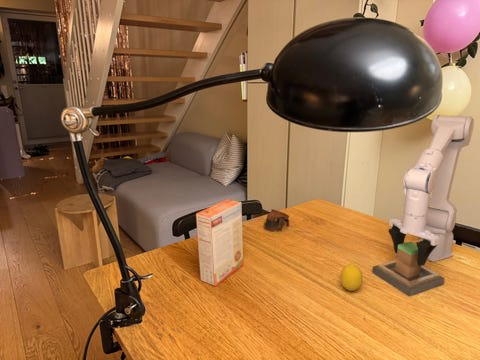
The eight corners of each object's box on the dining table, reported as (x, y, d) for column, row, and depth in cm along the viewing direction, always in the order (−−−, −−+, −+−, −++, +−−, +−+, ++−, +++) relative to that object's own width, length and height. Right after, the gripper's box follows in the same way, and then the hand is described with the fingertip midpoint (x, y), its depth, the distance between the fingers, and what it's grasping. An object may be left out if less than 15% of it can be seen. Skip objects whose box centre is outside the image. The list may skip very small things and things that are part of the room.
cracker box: (228, 260, 109) (226, 198, 104) (244, 266, 106) (243, 201, 100) (198, 280, 98) (194, 212, 93) (215, 287, 95) (212, 216, 89)
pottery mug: (258, 226, 136) (266, 206, 137) (279, 234, 138) (286, 215, 139) (269, 230, 125) (277, 209, 125) (291, 239, 127) (299, 218, 128)
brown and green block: (406, 266, 100) (409, 241, 98) (419, 274, 96) (423, 248, 94) (395, 270, 98) (398, 244, 96) (408, 277, 94) (411, 251, 92)
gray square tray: (404, 263, 106) (405, 254, 105) (443, 284, 95) (445, 275, 94) (372, 272, 101) (373, 264, 100) (409, 296, 90) (410, 287, 89)
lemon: (362, 298, 89) (365, 270, 87) (340, 295, 90) (342, 268, 88) (359, 286, 95) (362, 259, 92) (338, 284, 96) (340, 258, 93)
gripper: (383, 206, 97) (378, 250, 101) (428, 225, 84) (421, 274, 88) (401, 202, 100) (396, 245, 104) (448, 220, 87) (440, 268, 91)
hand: (409, 258), depth 96 cm, fingers open, 7 cm apart
